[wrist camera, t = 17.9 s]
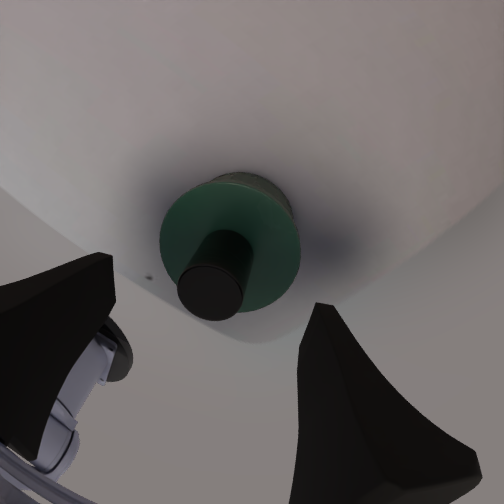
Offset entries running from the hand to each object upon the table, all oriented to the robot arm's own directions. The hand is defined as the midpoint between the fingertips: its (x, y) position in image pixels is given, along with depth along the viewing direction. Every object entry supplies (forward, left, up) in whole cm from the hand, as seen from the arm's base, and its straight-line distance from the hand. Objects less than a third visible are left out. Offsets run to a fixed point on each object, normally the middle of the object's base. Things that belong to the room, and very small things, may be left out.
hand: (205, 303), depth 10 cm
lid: (0, 0, -4) cm, 4 cm away
